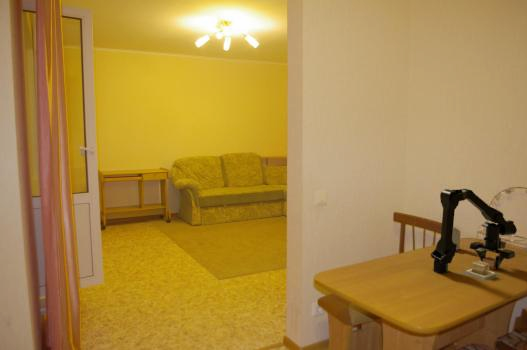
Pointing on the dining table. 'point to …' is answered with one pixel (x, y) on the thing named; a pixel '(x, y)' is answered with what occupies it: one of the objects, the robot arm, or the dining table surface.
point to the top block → (490, 262)
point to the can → (456, 237)
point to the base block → (480, 268)
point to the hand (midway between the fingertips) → (490, 267)
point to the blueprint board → (484, 278)
